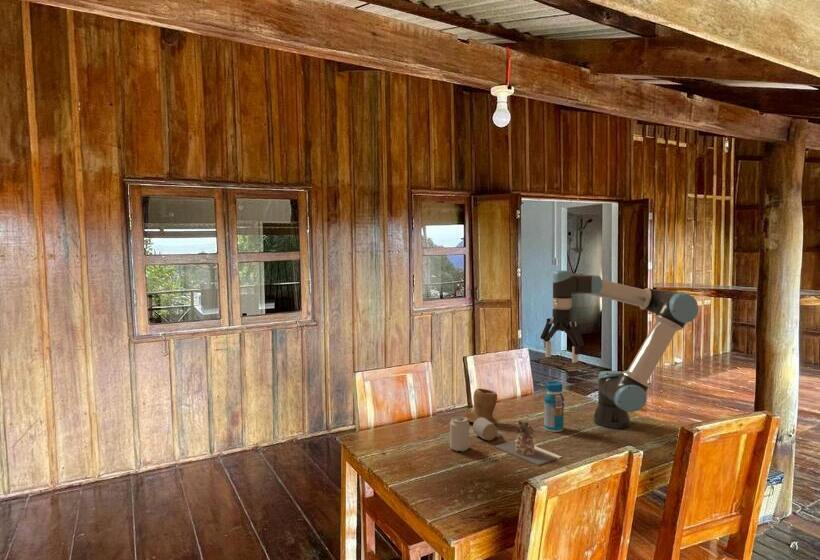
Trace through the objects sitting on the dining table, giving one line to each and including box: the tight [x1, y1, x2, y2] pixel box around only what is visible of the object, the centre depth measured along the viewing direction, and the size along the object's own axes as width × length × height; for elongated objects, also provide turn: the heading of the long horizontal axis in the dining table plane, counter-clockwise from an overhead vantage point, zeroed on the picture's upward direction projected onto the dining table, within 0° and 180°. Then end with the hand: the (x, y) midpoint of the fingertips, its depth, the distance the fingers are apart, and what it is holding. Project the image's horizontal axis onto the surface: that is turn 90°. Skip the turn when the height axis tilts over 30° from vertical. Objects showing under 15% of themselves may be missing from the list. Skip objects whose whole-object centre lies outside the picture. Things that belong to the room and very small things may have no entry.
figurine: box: [515, 420, 535, 455], centre depth 203 cm, size 7×7×12 cm
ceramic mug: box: [472, 417, 502, 441], centre depth 220 cm, size 11×8×8 cm
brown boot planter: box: [459, 388, 498, 425], centre depth 239 cm, size 15×12×15 cm
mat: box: [494, 440, 558, 467], centre depth 203 cm, size 10×22×1 cm, turn 35°
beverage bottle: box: [543, 381, 565, 433], centre depth 229 cm, size 8×8×20 cm
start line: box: [513, 439, 562, 460], centre depth 207 cm, size 2×22×1 cm, turn 35°
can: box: [449, 416, 470, 452], centre depth 208 cm, size 8×8×12 cm
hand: (561, 359), depth 221 cm, fingers open, 13 cm apart
